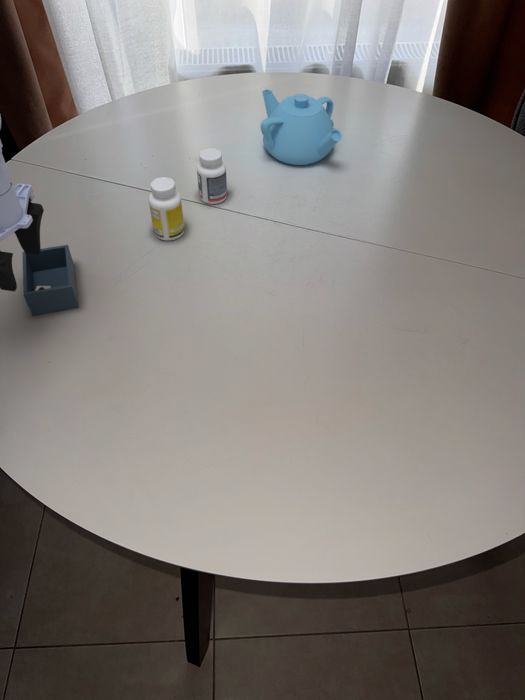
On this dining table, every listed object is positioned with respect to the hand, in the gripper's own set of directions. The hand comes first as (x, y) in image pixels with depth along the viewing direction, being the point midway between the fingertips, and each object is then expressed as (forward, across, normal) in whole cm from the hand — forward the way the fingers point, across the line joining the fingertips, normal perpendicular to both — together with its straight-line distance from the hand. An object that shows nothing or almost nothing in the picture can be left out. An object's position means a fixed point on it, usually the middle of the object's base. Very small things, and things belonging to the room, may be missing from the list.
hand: (21, 270), depth 81 cm
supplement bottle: (+10, +24, -14) cm, 29 cm away
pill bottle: (+10, +36, -19) cm, 41 cm away
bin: (+10, +6, 0) cm, 11 cm away
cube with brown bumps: (+9, +3, 0) cm, 10 cm away
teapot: (+10, +55, -32) cm, 64 cm away
